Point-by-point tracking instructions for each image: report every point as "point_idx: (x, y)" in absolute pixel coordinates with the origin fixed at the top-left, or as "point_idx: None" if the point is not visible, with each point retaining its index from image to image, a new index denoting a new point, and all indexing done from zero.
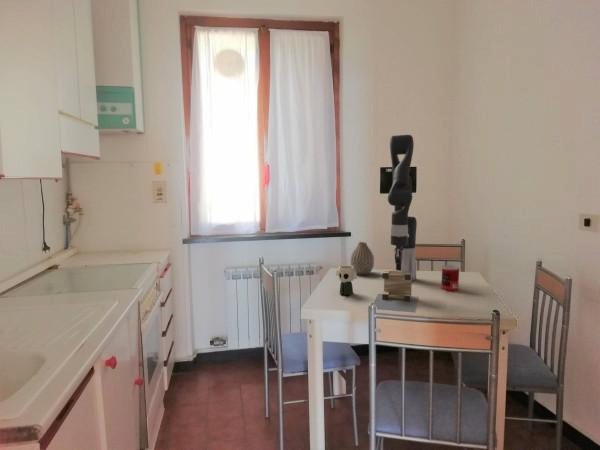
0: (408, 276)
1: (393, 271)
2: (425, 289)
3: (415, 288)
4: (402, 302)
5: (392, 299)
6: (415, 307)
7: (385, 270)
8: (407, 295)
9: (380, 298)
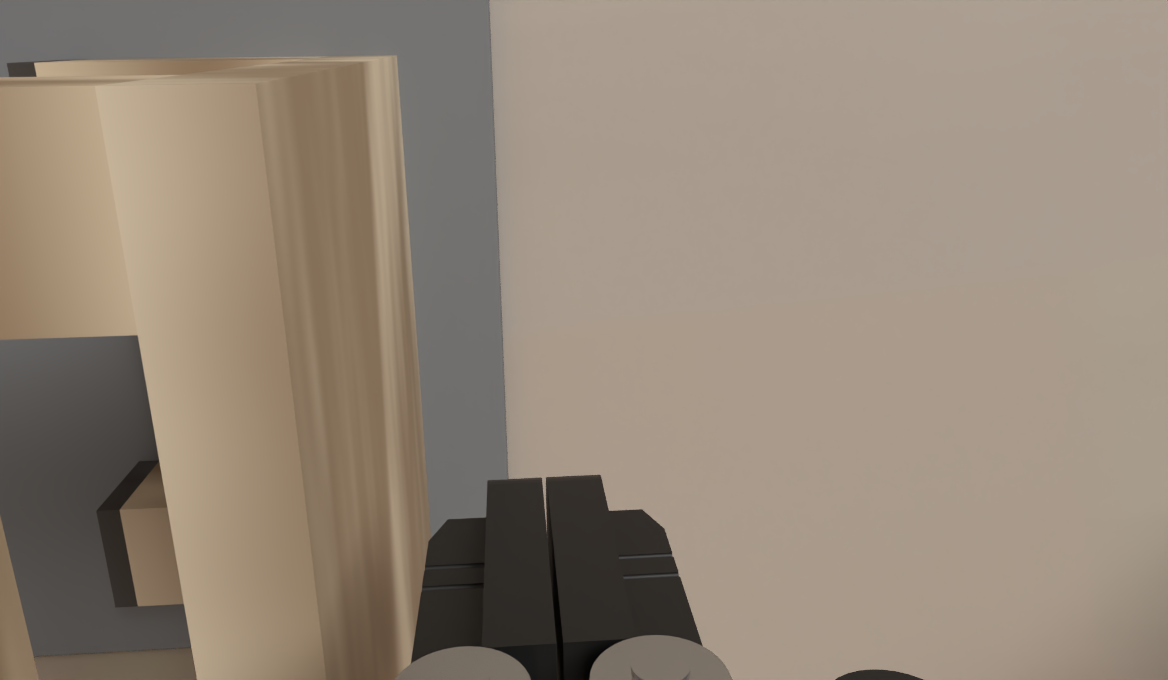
0: None
1: (170, 462)
2: (1025, 659)
3: (1066, 519)
4: (53, 443)
5: None
6: None
7: (77, 149)
8: (142, 559)
9: (128, 11)
